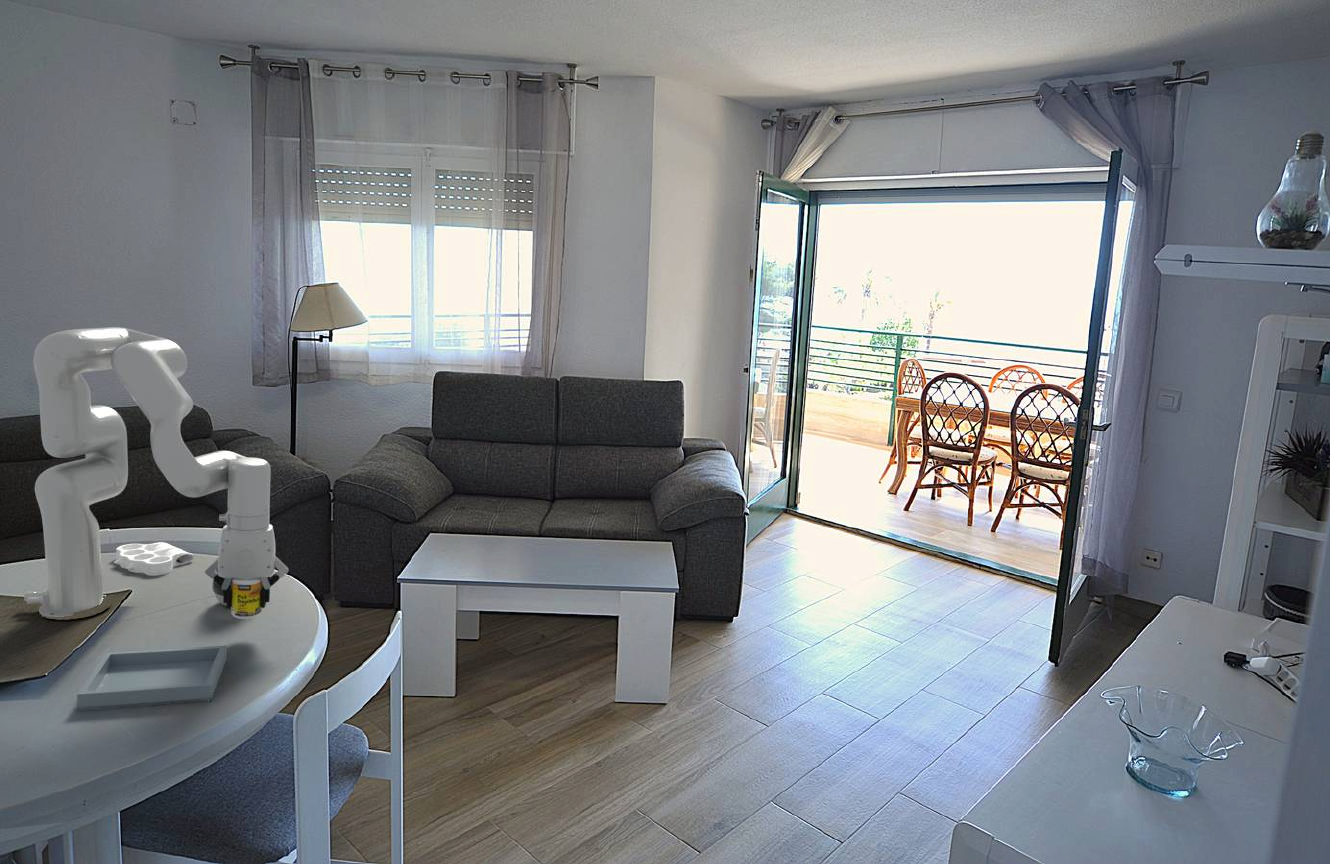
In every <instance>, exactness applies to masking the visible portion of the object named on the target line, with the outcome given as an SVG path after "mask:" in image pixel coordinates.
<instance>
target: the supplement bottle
mask: <svg viewBox="0 0 1330 864" xmlns="http://www.w3.org/2000/svg"><path fill="white" fill-rule="evenodd" d="M261 589H262V581H261V579H260V578H232V598H231V608H230V613H231V615H232V617H233V618H235V619H240V620H248V619H253V618H256V617H258V616H259V615H260V614H261V613H262V609H263V608H262V607H261Z"/></svg>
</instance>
